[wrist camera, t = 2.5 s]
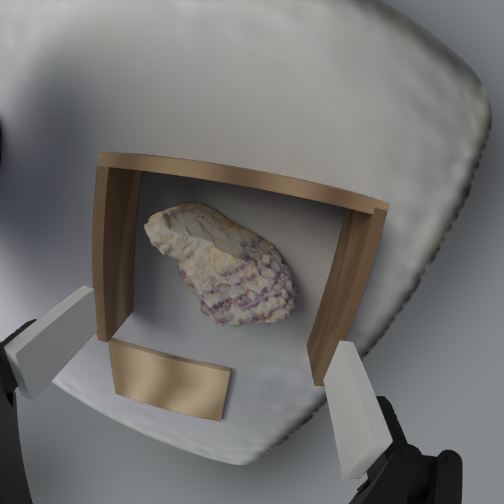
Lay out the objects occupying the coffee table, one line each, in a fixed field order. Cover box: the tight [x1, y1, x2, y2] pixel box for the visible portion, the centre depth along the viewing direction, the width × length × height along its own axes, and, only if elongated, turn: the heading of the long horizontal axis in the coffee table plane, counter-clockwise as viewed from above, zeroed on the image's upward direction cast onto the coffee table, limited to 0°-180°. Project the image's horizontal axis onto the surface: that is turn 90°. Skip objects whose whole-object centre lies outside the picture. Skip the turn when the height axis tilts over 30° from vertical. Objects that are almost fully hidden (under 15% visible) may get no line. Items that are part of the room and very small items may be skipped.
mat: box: [109, 338, 231, 422], centre depth 30 cm, size 14×9×1 cm, turn 79°
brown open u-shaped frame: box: [92, 152, 389, 387], centre depth 22 cm, size 20×16×6 cm
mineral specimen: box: [144, 202, 299, 326], centre depth 22 cm, size 13×7×6 cm, turn 59°
